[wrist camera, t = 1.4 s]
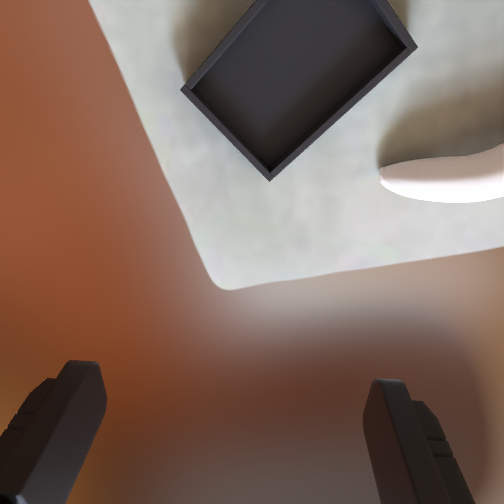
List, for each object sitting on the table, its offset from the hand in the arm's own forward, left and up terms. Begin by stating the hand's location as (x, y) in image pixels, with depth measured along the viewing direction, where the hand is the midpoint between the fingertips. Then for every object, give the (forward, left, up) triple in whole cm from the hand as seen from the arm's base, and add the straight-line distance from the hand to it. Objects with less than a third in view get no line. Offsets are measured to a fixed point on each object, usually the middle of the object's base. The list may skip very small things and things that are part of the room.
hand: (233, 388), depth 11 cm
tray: (-7, -3, -27) cm, 28 cm away
